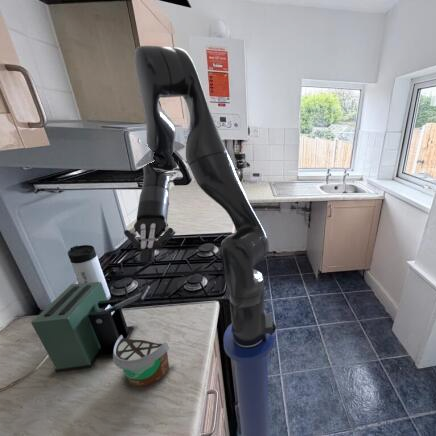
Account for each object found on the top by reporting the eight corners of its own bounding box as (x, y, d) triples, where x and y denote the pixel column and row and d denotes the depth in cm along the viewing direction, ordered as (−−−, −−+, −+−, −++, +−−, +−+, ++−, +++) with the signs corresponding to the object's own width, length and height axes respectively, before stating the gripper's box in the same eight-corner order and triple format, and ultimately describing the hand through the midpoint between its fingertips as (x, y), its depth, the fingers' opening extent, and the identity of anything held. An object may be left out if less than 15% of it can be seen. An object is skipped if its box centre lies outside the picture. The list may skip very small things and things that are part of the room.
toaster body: (117, 324, 70) (102, 280, 63) (90, 368, 57) (67, 318, 51) (89, 327, 68) (70, 282, 62) (55, 372, 56) (28, 322, 50)
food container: (108, 388, 53) (95, 358, 49) (129, 363, 59) (119, 334, 55) (158, 397, 52) (148, 367, 48) (175, 370, 57) (167, 341, 53)
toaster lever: (153, 289, 62) (147, 283, 61) (145, 302, 58) (139, 296, 57) (109, 310, 62) (102, 304, 61) (98, 325, 58) (91, 319, 57)
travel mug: (102, 291, 82) (84, 242, 75) (115, 296, 80) (98, 245, 73) (82, 303, 77) (60, 251, 69) (96, 308, 75) (75, 255, 67)
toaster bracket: (134, 328, 68) (122, 293, 64) (118, 356, 60) (104, 319, 55) (115, 330, 68) (102, 295, 63) (97, 359, 59) (80, 322, 55)
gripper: (122, 199, 64) (110, 262, 57) (173, 198, 66) (168, 258, 60) (135, 211, 71) (126, 268, 64) (181, 209, 73) (177, 264, 66)
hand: (146, 263), depth 62 cm, fingers closed
